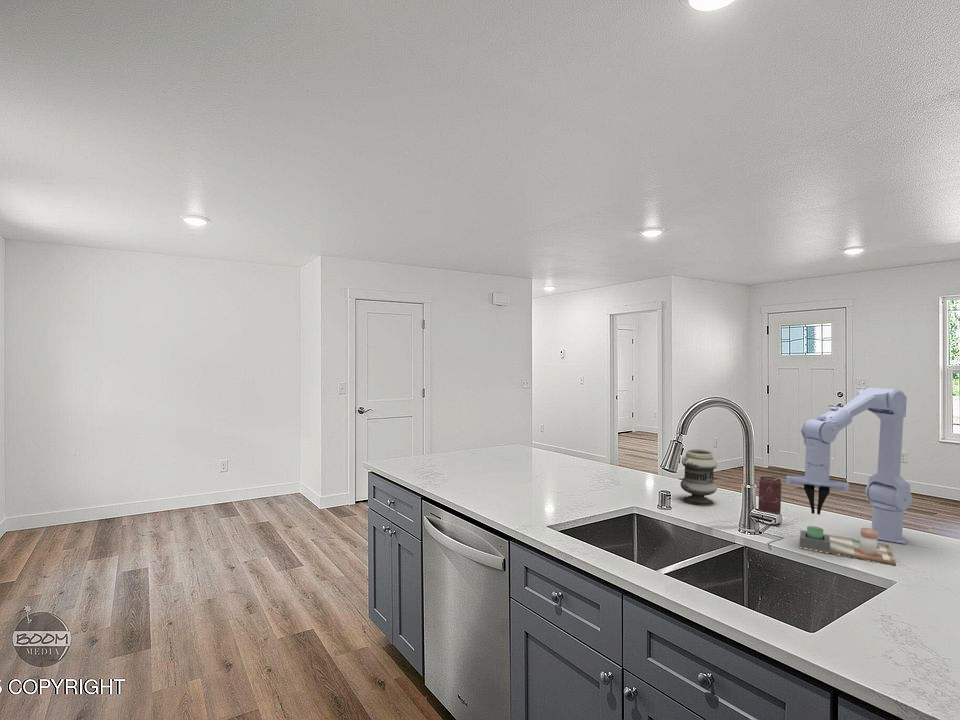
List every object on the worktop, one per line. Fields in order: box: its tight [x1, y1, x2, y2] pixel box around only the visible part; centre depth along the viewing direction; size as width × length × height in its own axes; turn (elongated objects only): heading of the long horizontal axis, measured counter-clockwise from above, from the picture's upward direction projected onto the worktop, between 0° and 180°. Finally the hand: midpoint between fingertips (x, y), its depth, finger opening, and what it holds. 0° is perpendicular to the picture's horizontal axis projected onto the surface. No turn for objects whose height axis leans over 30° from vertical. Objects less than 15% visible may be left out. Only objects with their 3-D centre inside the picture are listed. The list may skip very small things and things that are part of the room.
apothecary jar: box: [680, 448, 718, 507], centre depth 192 cm, size 12×12×18 cm
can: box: [757, 476, 782, 515], centre depth 170 cm, size 6×6×14 cm
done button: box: [806, 525, 824, 540], centre depth 149 cm, size 4×4×3 cm
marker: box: [859, 527, 878, 556], centre depth 143 cm, size 4×4×6 cm
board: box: [799, 529, 897, 567], centre depth 149 cm, size 16×21×1 cm
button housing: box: [799, 530, 830, 552], centre depth 149 cm, size 7×7×2 cm
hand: (815, 513), depth 149 cm, fingers closed
